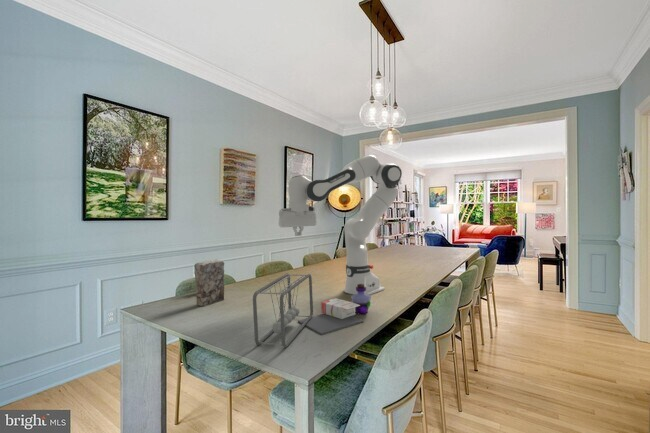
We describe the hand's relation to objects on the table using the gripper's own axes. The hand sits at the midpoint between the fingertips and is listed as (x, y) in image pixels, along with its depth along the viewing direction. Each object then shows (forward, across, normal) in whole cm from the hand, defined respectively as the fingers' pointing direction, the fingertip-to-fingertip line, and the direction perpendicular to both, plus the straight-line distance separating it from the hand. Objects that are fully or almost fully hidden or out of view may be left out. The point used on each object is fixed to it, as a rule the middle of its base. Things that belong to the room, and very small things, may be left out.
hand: (298, 235), depth 154 cm
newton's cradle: (+31, -26, -34) cm, 53 cm away
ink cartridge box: (+28, -2, -27) cm, 39 cm away
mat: (+31, -8, -37) cm, 49 cm away
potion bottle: (+31, +9, -36) cm, 49 cm away
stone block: (+31, -38, +20) cm, 53 cm away
